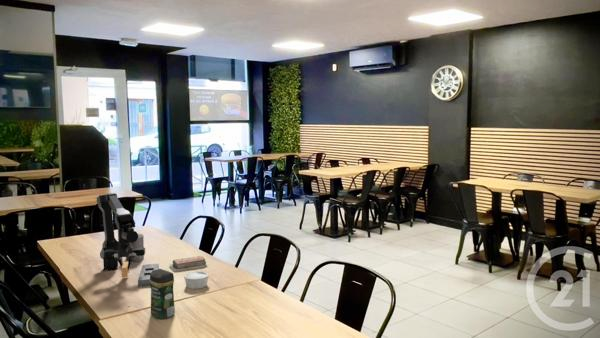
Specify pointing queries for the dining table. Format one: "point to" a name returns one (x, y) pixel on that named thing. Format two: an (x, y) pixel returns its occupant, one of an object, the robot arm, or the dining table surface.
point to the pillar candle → (135, 245)
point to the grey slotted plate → (146, 274)
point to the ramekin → (196, 280)
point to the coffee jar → (162, 294)
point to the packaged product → (188, 263)
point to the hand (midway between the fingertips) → (125, 269)
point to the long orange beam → (125, 270)
